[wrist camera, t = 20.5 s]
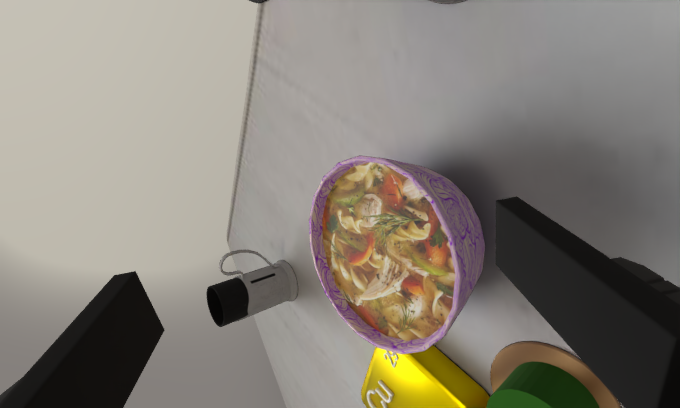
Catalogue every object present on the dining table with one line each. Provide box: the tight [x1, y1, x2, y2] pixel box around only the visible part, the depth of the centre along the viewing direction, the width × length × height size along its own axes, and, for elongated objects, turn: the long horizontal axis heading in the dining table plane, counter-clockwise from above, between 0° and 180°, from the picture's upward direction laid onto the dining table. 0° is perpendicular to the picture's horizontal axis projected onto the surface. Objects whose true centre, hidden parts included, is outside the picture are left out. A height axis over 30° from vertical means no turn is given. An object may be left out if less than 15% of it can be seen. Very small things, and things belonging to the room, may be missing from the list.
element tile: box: [361, 345, 490, 408], centre depth 46 cm, size 15×15×5 cm
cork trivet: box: [491, 341, 621, 408], centre depth 35 cm, size 12×12×1 cm
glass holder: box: [207, 250, 298, 327], centre depth 66 cm, size 9×14×15 cm, turn 175°
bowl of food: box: [309, 156, 485, 354], centre depth 38 cm, size 20×20×12 cm
